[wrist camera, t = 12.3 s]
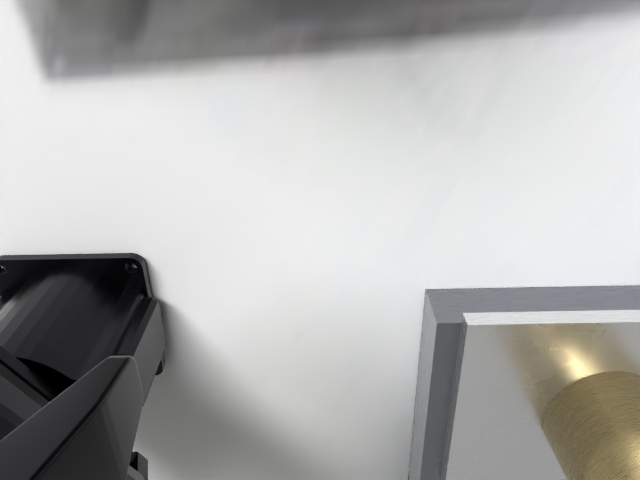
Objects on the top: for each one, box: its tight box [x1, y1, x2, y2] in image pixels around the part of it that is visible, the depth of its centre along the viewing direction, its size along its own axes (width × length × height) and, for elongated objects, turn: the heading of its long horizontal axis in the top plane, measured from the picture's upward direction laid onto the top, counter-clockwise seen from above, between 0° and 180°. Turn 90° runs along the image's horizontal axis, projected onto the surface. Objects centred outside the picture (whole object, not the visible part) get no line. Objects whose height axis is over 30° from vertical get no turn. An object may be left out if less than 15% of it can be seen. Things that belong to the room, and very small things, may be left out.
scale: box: [408, 286, 640, 480], centre depth 26 cm, size 15×16×3 cm
